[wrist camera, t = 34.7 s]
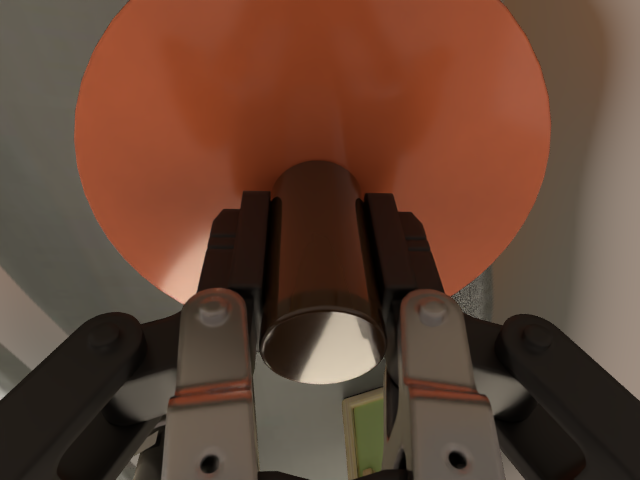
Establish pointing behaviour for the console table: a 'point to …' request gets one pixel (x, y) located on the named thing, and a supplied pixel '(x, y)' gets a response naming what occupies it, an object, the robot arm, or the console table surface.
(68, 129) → the console table surface
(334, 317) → the lid
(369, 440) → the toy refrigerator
